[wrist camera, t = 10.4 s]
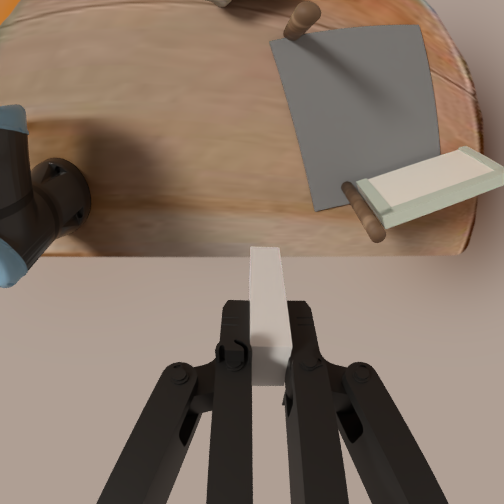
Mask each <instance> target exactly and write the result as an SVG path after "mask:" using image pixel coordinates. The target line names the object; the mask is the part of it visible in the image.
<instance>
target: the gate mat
mask: <svg viewBox="0 0 504 504" xmlns="http://www.w3.org/2000/svg"><path fill="white" fill-rule="evenodd" d="M269 43H270V46H271V49H272V52H273V55H274V58H275V62H276V65H277V68H278V71H279V74H280V78H281V81H282V84H283V88H284V91H285V95H286V98H287V102H288V105H289V109H290V112H291V116H292V120H293V123H294V127H295V131H296V135H297V138H298V142H299V146H300V150H301V154H302V158H303V162H304V166H305V170H306V175H307V179H308V183H309V188H310V192H311V196H312V201H313V205H314V210H315V211H319V210H323V209H328V208H332V207H337V206H341V205H346V204H350V203H349V201H348V199H347V198H346V196H345V194H344V193H343V191H342V189H341V185H342V184H343V183H344V182H346V181H349V182H351V183H352V184H353V186H354V187H355V188H356V190H357V191H358V187H357V184H356V181H359V180H362V179H365V178H367V179H370V178H373V177H376V176H379V175H382V174H385V173H388V172H391V171H394V170H397V169H400V168H403V167H406V166H409V165H412V164H415V163H418V162H421V161H424V160H428V159H431V158H434V157H437V156H440V144H439V132H438V122H437V114H436V106H435V99H434V92H433V86H432V80H431V75H430V70H429V65H428V60H427V55H426V51H425V46H424V42H423V38H422V34H421V31H420V27H419V25H381V26H365V27H353V28H344V29H335V30H328V31H321V32H314V33H308V34H303V35H302V36H301V37H300V38H299V39H297V40H295V41H291V40H288V39H287V38H282V39H278V40H273V41H269ZM358 193H359V191H358ZM359 194H360V193H359ZM360 195H361V194H360ZM361 197H362V195H361ZM362 198H363V197H362ZM363 200H365V199H364V198H363Z"/></svg>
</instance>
